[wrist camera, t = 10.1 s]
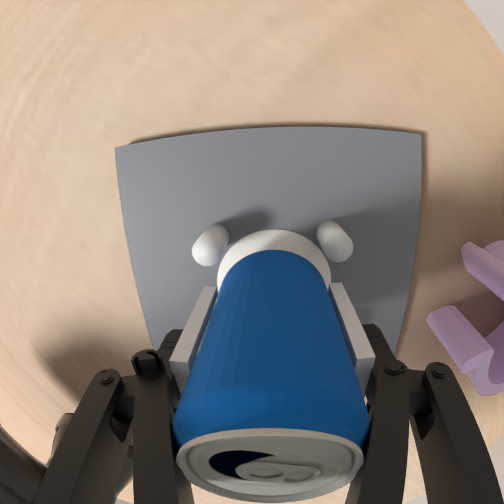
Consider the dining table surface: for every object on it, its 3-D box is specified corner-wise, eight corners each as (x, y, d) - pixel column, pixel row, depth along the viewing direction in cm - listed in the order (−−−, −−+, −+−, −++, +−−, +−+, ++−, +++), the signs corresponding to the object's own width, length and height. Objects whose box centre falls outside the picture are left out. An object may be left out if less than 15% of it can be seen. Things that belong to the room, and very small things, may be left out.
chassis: (168, 374, 24) (155, 406, 20) (123, 147, 17) (89, 148, 13) (383, 369, 22) (396, 401, 18) (413, 134, 16) (445, 133, 12)
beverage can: (238, 230, 16) (172, 393, 5) (340, 264, 17) (423, 430, 5) (211, 319, 18) (157, 483, 7) (301, 345, 19) (316, 509, 7)
